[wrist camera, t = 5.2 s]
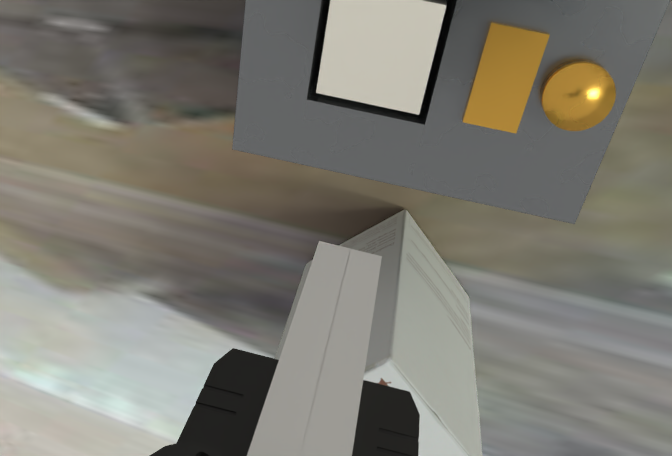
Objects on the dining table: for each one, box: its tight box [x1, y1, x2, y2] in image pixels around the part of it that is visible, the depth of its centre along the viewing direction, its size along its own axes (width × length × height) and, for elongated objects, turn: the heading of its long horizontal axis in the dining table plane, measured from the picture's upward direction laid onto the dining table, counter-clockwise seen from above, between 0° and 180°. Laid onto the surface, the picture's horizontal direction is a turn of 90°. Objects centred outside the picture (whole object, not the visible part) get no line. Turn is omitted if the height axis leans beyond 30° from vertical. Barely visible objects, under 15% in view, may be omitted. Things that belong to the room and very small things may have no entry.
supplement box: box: [274, 210, 482, 456], centre depth 31 cm, size 7×7×13 cm
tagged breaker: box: [316, 0, 447, 115], centre depth 24 cm, size 4×4×5 cm
